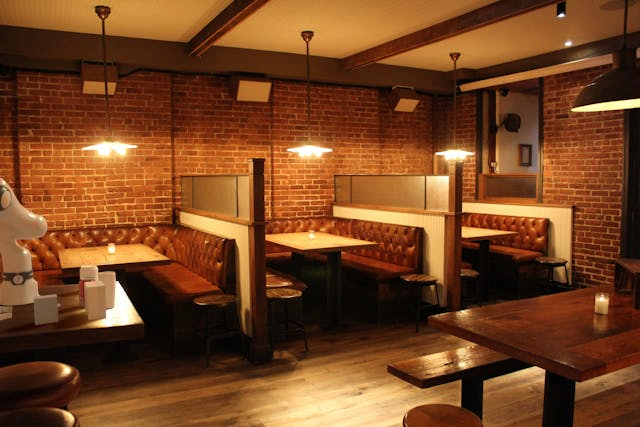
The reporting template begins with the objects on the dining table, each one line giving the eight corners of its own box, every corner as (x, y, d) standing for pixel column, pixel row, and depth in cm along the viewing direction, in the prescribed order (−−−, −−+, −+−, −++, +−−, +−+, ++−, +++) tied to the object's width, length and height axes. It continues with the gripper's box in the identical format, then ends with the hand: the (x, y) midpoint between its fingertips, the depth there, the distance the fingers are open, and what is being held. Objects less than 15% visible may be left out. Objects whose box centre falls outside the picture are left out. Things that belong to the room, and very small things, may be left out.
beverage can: (102, 289, 270) (101, 264, 269) (91, 292, 262) (90, 267, 261) (87, 288, 271) (86, 264, 270) (77, 291, 264) (75, 267, 263)
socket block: (85, 313, 225) (84, 282, 223) (102, 311, 228) (101, 280, 227) (88, 320, 215) (87, 287, 214) (106, 317, 218) (105, 285, 217)
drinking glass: (107, 305, 238) (106, 270, 237) (120, 306, 236) (118, 271, 235) (96, 308, 232) (94, 273, 231) (108, 310, 230) (107, 274, 228)
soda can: (100, 303, 241) (99, 276, 240) (91, 307, 234) (90, 280, 233) (84, 303, 241) (83, 276, 240) (76, 307, 234) (74, 279, 233)
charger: (34, 322, 213) (33, 296, 212) (60, 318, 217) (59, 294, 216) (35, 325, 209) (33, 299, 208) (61, 321, 213) (60, 296, 212)
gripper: (-35, 315, 191) (11, 310, 198) (-30, 302, 209) (11, 298, 215) (-34, 333, 192) (12, 327, 198) (-29, 318, 209) (12, 313, 216)
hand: (12, 311), depth 207 cm, fingers open, 8 cm apart
